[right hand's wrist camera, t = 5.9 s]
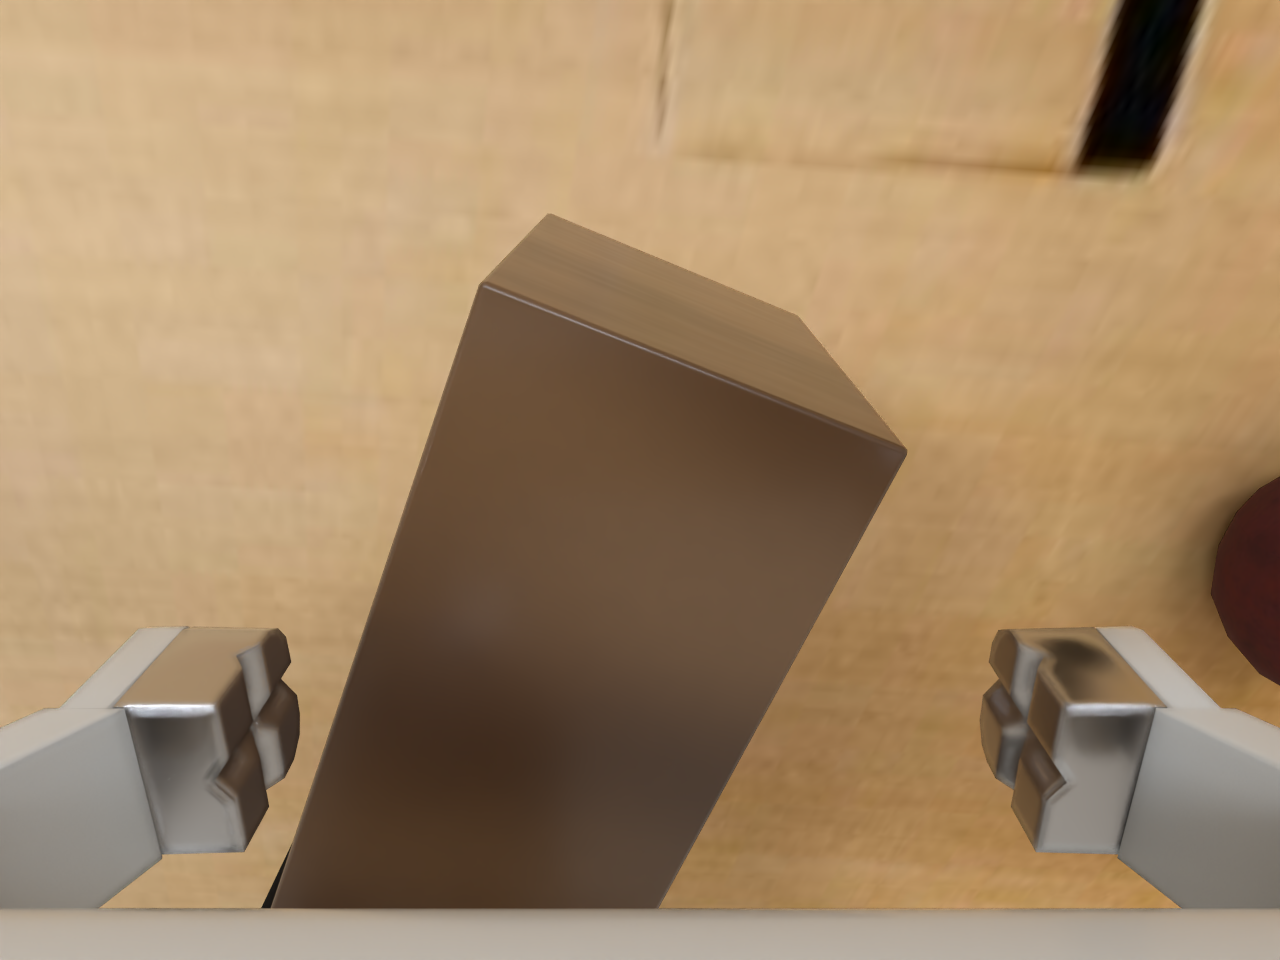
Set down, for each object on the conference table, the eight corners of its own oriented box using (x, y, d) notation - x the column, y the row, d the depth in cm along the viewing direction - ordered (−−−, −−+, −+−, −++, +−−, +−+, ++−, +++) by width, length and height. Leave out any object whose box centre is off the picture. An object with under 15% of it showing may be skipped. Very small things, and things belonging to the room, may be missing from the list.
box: (547, 211, 19) (479, 279, 11) (800, 316, 20) (911, 451, 12) (293, 934, 27) (143, 1288, 19) (483, 987, 28) (418, 1348, 19)
